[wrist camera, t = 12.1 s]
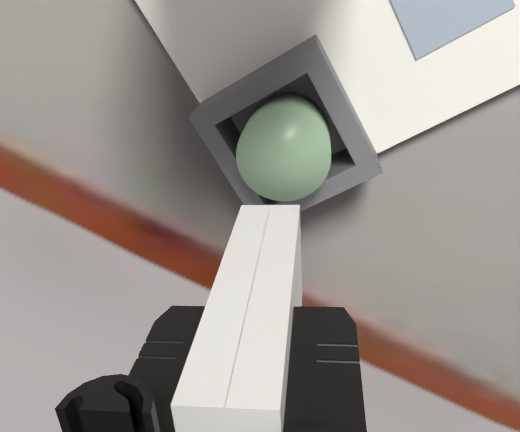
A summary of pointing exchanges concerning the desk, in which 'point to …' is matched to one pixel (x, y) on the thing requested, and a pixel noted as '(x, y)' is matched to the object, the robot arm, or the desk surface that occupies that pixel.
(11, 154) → the desk surface
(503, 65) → the white button panel
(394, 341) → the desk surface
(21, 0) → the desk surface
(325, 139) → the button
